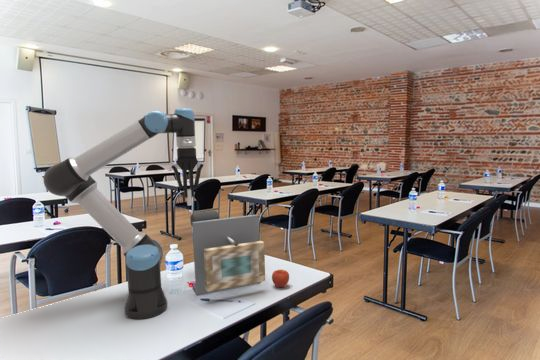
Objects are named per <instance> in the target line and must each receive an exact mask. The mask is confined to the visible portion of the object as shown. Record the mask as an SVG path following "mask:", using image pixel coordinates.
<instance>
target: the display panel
mask: <svg viewBox="0 0 540 360" xmlns="http://www.w3.org/2000/svg"><path fill="white" fill-rule="evenodd" d="M259 217H260V216H259V215H258V214H249V215H242V216H232V217H231V216H230V217H225V218H219V219H214V220H205V221H197V222H192V226H191V227H192V229H191V230H192V244H193V263H194V264H193V265H194V266H193V267H194V279H195V280H194V281H195V282H194V283H193V284H192V289H193V291H194V293H195V294H196V296H201V295H207V294H212V293H217V292H222V291H227V290H233V289H237V288H241V287H247V286H253V285H258V284H261V282H256V283H251V284H246V285H241V286H236V287H230V288H225V289H220V290H215V291H210V292H207V290H206V285H205V263H204V249H208V248H215V247H222V246H228V245H234V244H235V243H238V244H242V243H249V242H256V241H260V223H259V222H260V220H259V219H260V218H259Z"/></svg>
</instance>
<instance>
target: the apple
mask: <svg viewBox="0 0 540 360" xmlns="http://www.w3.org/2000/svg"><path fill="white" fill-rule="evenodd" d="M271 280H272V283H273V285H275V286H276V287H277V288H285V287H286V286H287V285H288V284H289V282H290V281H289V280H290V274H289V272H288V271H287V269H286V270H285V269H277V270H274V271H273V272H272V274H271Z"/></svg>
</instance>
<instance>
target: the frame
mask: <svg viewBox="0 0 540 360" xmlns="http://www.w3.org/2000/svg"><path fill="white" fill-rule="evenodd" d="M265 252H266V251H265V242H264V241H263V240H259V241H256V242H249V243H242V244H238V243H235V244H234V245H228V246H222V247H215V248H208V249H204V263H205V285H206V290H207V292H210V291H215V290H220V289H225V288H230V287H236V286H241V285H246V284H251V283H256V282H262V283H263V282H265V281H266V260H265V257H266V256H265Z"/></svg>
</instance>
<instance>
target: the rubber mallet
mask: <svg viewBox="0 0 540 360" xmlns="http://www.w3.org/2000/svg"><path fill="white" fill-rule="evenodd" d="M214 219H220V215H219V211H217V210H207V211H206V210H204V211H198V212H194V213H191V214H190V219H189V220H190V225H191V227H192V222H197V221H205V220H214Z"/></svg>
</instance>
